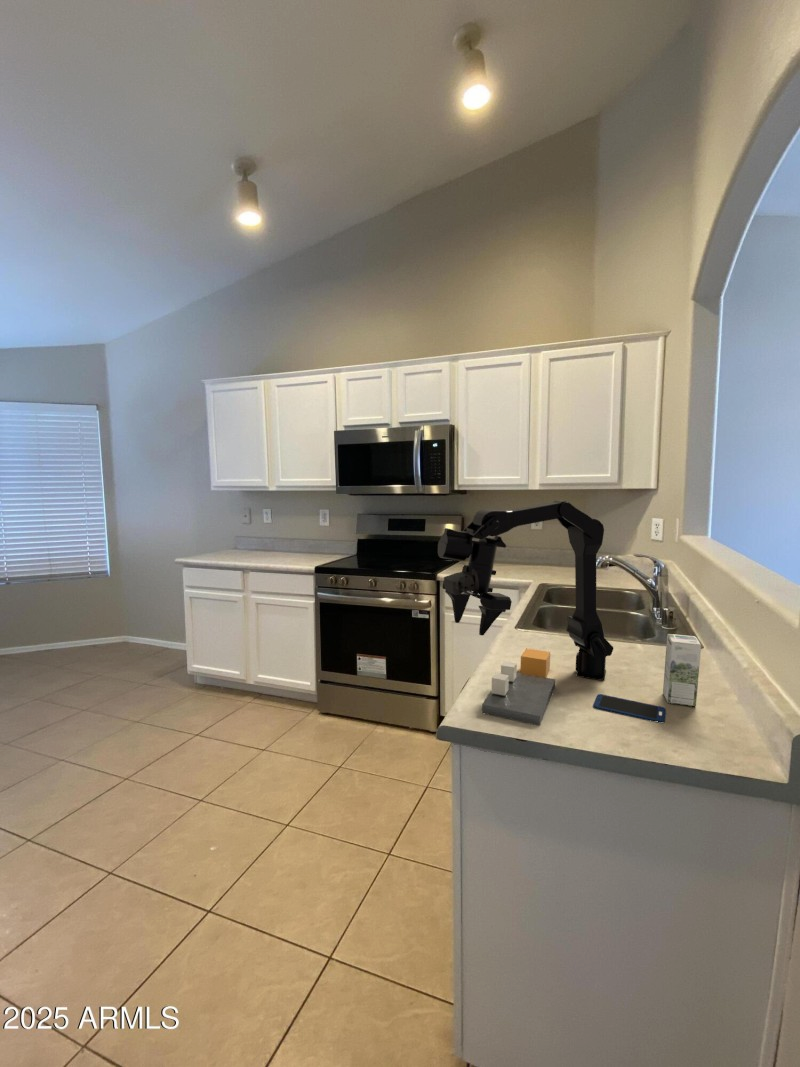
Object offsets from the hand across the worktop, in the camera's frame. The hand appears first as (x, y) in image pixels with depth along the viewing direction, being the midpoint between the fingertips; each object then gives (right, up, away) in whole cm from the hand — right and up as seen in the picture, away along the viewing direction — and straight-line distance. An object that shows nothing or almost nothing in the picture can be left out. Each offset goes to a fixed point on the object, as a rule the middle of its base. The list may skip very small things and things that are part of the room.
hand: (468, 628), depth 117 cm
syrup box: (+46, -15, -5) cm, 49 cm away
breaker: (+6, -13, -6) cm, 15 cm away
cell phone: (+33, -16, -9) cm, 38 cm away
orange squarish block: (+18, -13, +10) cm, 25 cm away
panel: (+11, -15, -5) cm, 19 cm away
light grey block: (+10, -12, +1) cm, 15 cm away
